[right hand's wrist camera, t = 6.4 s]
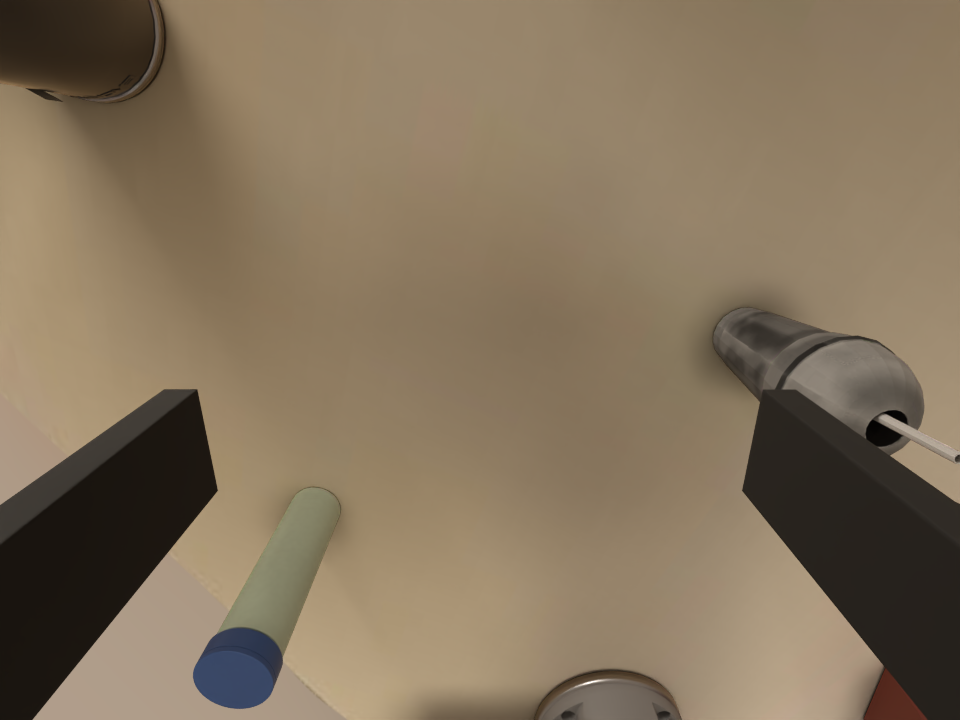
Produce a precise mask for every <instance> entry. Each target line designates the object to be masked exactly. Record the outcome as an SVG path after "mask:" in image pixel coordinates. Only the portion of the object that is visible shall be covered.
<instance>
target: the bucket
mask: <svg viewBox="0 0 960 720" xmlns="http://www.w3.org/2000/svg"><path fill="white" fill-rule="evenodd" d="M864 720H927V718H926V717H925V716H924V715H923V713H922V712H921V711H920V710H919V708H918V707H917V706H916V705H915V704H914V702H913V701H912V700H911V699H910V697H909V696H908V695H907V694H906V692H905V691H904V690H903V689H902V687H901V686H900V685H899V684H898V683H897V681H896V680H895V679H894V678H893V676H892V675H891V674H890V673H889V671H888V670H887V669H886V668H885V670H884V673H883V675H882V677H881V680H880V682H879V684H878V687H877V689H876V691H875V694H874V696H873V698H872V701H871V703H870V705H869V708H868V710H867V712H866V715H865V717H864Z"/></svg>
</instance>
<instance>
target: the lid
mask: <svg viewBox="0 0 960 720" xmlns="http://www.w3.org/2000/svg"><path fill="white" fill-rule="evenodd" d="M282 664H283V658H282V653H281V651H280V649H279V647H278V646H277V644H276V643H275V642H274V641H273V640H272V639H270V638H269V637H268V636H266V635H264V634H262V633H260V632H258V631H255V630H251V629H246V628H232V629H227V630H224V631H222V632H220V633H218V634H216V635H215V636H214V637H213V638H212V639H211V640H210V641H209V643H208V645H207V646H206V648H205V650H204V652H203V653H202V655H201V657H200V659H199V660H198V662H197V664H196V666H195V668H194V672H193V679H194V683H195V685H196V687H197V689H198V690H199V691H200V693H201V694H202V695H203V696H205V697H206V698H207V699H209V700H210V701H212V702H214V703H216V704H218V705H221V706H224V707H228V708H235V709H244V708H251V707H254V706H257V705H259V704H261V703H263V702H264V701H265V700H266V699H267V698H268V697H269V696H270V695H271V693H272V691H273V688H274V685H275V683H276V680H277V678H278V675H279V673H280V670H281V668H282Z"/></svg>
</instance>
